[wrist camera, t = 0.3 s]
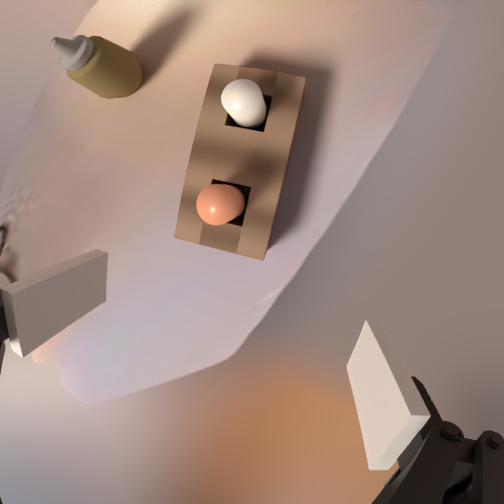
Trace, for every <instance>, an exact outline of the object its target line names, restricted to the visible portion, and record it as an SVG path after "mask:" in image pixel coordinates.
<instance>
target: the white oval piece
mask: <svg viewBox="0 0 504 504" xmlns="http://www.w3.org/2000/svg"><path fill="white" fill-rule="evenodd" d="M221 102H222V105H223V107H224V108H225V110H226V111H227V112H228V113H229V114H230V116H231V117H232V118H233V119H234V120H235V122H236V123H237V124H238V125H240V126H242V127H244V128H254V127H257V126H259V125H260V124H261V123H263V121H264V120H265V118H266V115H267V108H266V105H265V102H264V99H263V96H262V92H261V90H260V88H259V86H258V85H257V84H256V83H254V82H253V81H251V80H247V79H238V80H235V81H232V82H231V83H229V84H228V85H227V86H226V87H225V88H224V90H223V92H222V95H221Z"/></svg>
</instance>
